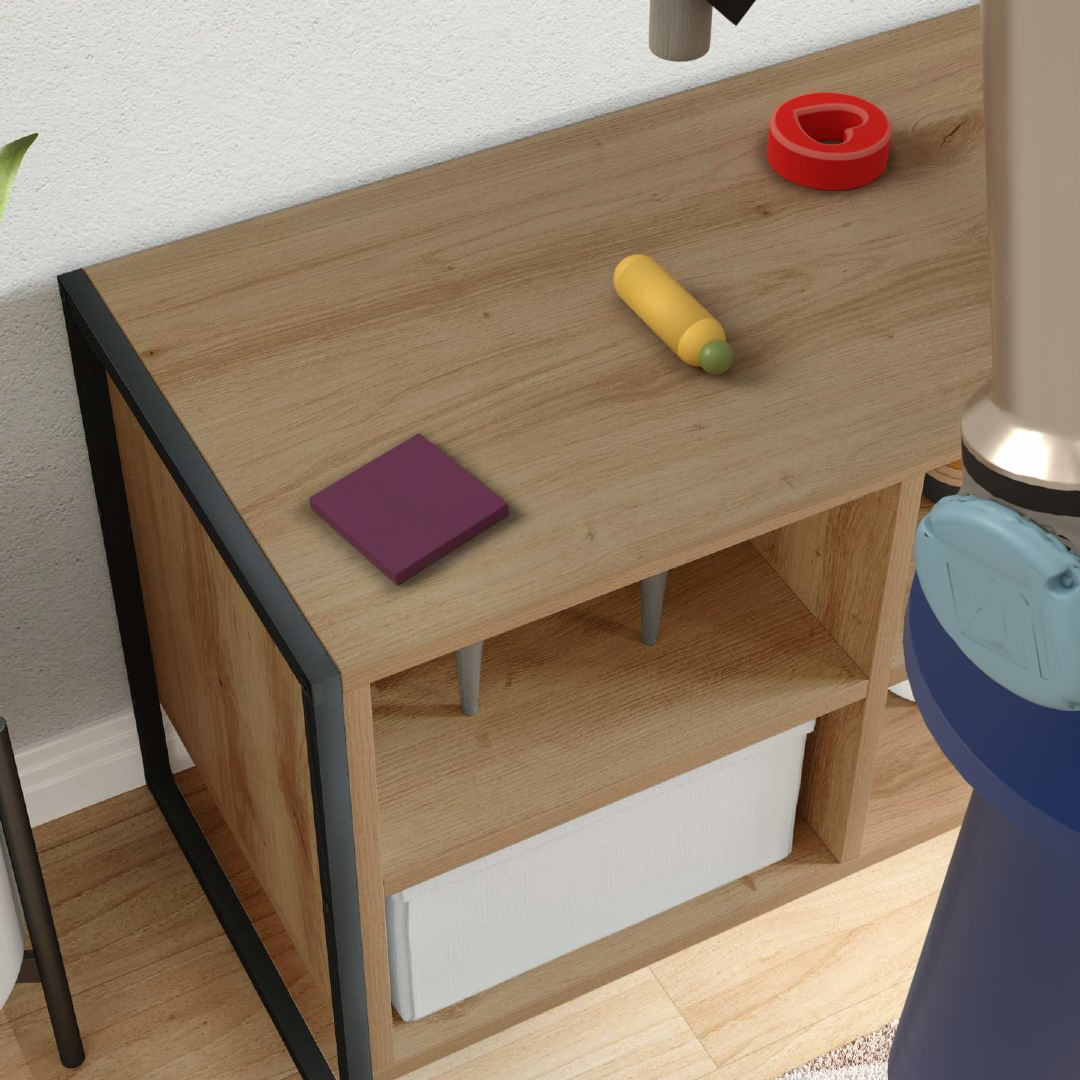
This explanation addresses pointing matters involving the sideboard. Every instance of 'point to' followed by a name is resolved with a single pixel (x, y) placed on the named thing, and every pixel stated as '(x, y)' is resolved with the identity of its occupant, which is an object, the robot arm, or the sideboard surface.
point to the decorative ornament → (829, 120)
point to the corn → (672, 313)
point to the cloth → (408, 507)
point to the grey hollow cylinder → (680, 29)
